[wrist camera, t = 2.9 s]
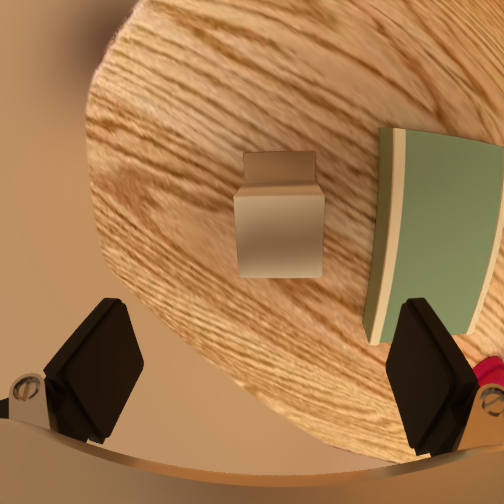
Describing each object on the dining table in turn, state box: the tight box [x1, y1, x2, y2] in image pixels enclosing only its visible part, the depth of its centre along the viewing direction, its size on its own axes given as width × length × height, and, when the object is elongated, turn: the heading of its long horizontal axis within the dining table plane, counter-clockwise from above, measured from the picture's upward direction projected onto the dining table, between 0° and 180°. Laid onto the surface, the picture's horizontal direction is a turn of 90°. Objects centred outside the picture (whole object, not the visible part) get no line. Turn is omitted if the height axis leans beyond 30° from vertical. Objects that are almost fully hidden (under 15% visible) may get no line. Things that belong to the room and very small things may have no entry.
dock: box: [362, 128, 504, 345], centre depth 20 cm, size 17×11×3 cm, turn 3°
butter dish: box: [233, 151, 325, 278], centre depth 20 cm, size 9×5×6 cm, turn 3°
